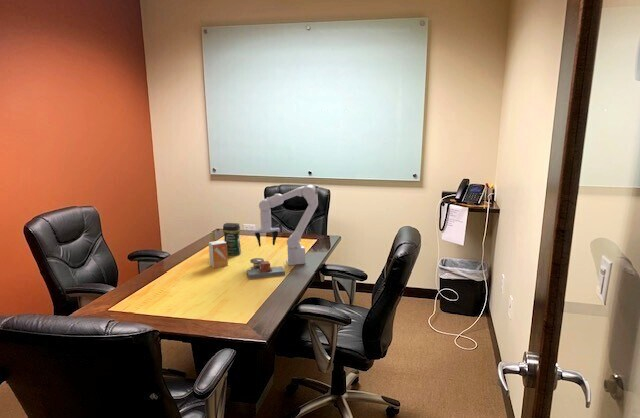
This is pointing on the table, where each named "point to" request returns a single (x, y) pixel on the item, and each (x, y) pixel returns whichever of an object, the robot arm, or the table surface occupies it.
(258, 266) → the bobbin
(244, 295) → the table surface
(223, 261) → the small box
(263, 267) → the block
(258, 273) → the notched board
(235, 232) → the coffee jar
